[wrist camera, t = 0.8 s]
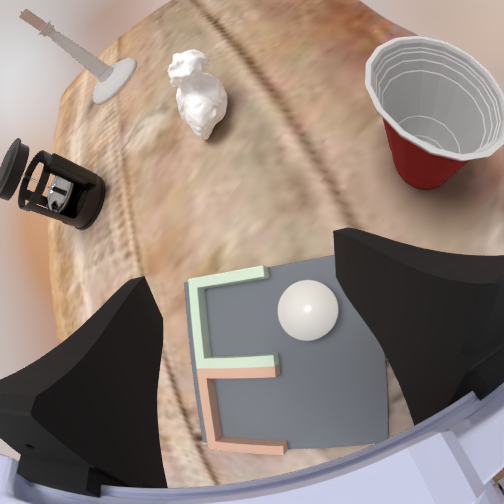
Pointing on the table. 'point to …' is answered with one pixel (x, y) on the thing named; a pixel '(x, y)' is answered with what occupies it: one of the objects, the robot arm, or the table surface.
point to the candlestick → (88, 61)
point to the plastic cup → (434, 107)
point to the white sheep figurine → (197, 92)
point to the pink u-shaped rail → (212, 414)
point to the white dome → (308, 310)
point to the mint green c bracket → (201, 323)
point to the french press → (52, 186)
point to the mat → (295, 366)
